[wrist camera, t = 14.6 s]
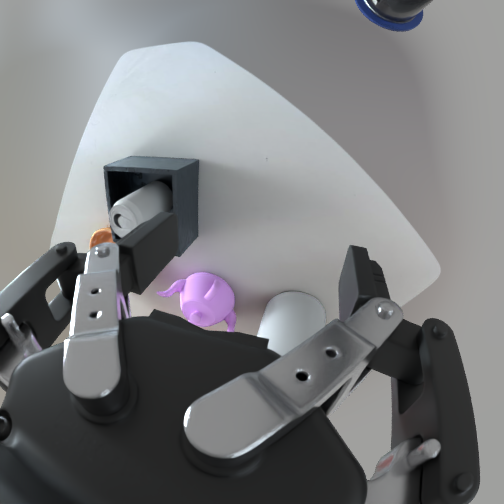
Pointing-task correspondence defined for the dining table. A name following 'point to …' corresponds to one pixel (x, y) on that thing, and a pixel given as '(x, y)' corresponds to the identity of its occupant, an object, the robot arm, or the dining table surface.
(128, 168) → the dark gray open box
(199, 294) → the teapot
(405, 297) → the dining table surface
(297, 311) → the cylinder vase
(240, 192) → the dining table surface
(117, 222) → the beverage can
